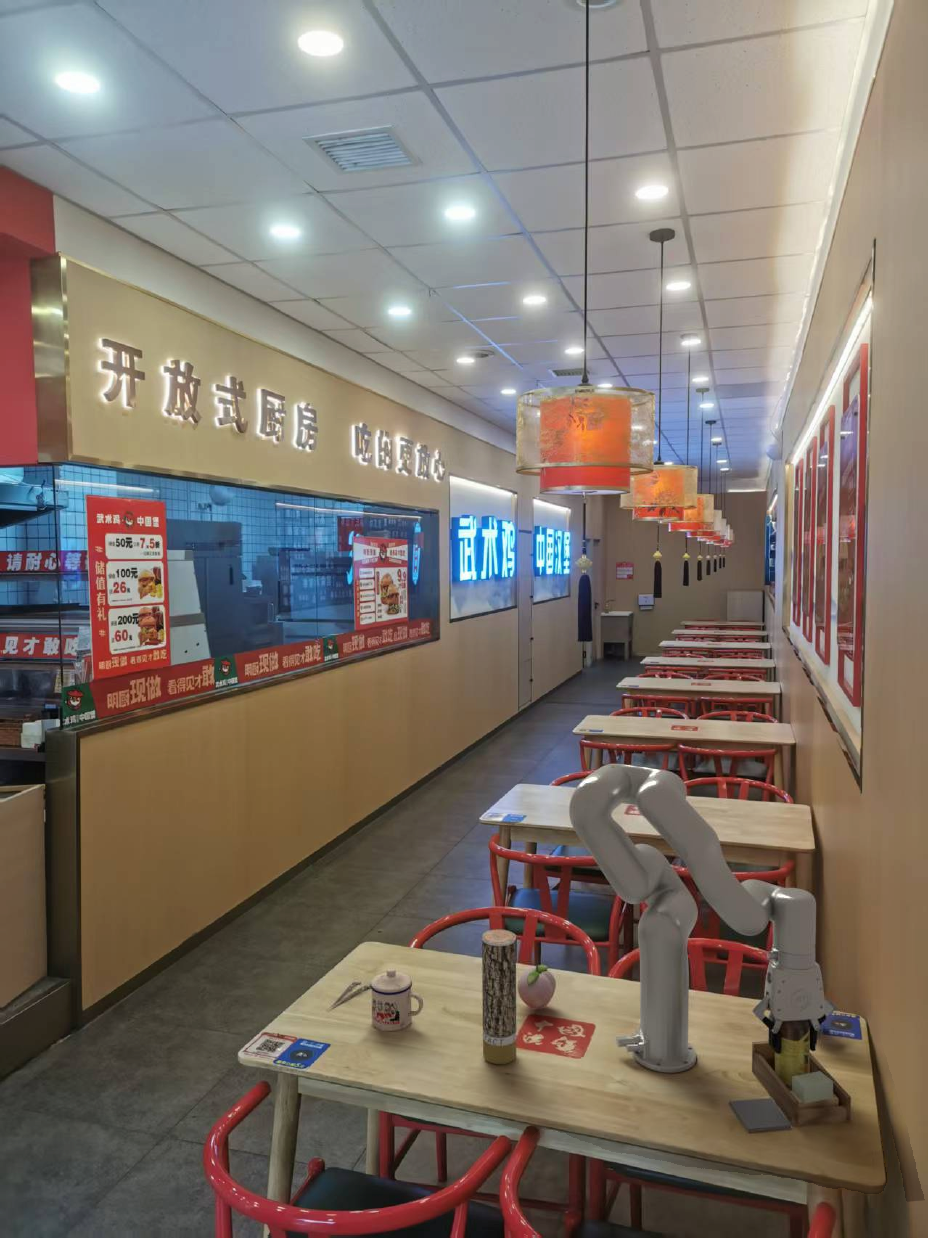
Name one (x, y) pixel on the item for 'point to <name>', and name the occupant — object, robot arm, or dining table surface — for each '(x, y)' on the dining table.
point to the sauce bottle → (793, 1051)
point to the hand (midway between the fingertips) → (792, 1047)
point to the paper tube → (499, 996)
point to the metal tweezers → (350, 994)
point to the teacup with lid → (393, 1000)
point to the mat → (759, 1115)
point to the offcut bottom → (818, 1103)
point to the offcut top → (812, 1087)
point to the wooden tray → (786, 1100)
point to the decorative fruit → (536, 987)
